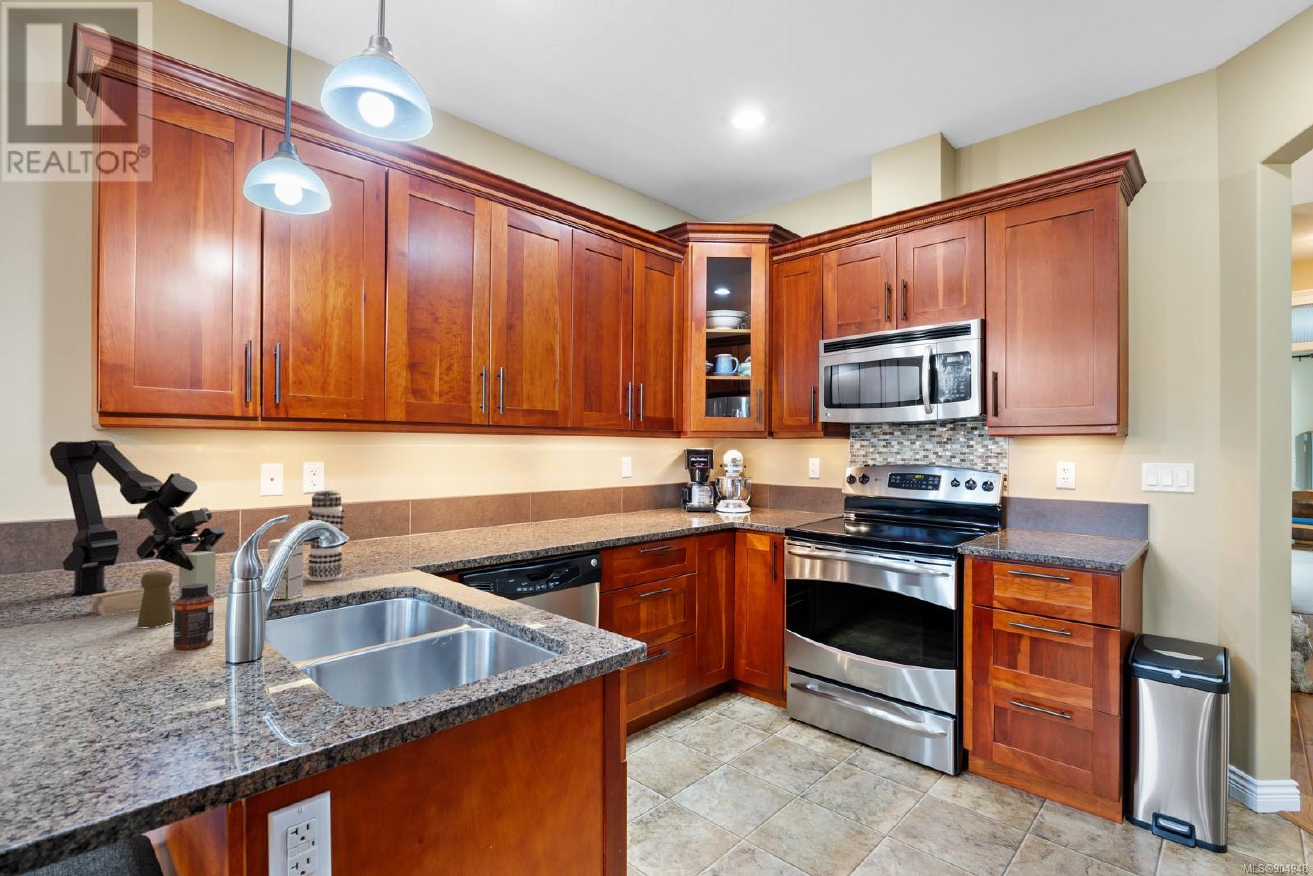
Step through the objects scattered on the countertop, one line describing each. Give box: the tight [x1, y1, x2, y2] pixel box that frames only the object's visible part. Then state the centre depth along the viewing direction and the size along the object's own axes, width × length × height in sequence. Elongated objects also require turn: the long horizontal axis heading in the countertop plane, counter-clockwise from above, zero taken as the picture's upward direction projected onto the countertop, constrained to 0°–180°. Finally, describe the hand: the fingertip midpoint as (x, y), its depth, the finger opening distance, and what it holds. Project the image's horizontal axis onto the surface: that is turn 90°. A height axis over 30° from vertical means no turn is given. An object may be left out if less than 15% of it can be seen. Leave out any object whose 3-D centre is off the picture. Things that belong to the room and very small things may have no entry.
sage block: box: [178, 551, 217, 597], centre depth 150 cm, size 5×5×10 cm
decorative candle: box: [307, 490, 345, 582], centre depth 177 cm, size 9×9×25 cm
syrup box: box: [267, 537, 304, 601], centre depth 153 cm, size 6×6×14 cm
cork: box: [136, 570, 174, 628], centre depth 129 cm, size 6×6×11 cm
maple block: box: [91, 588, 144, 617], centre depth 140 cm, size 8×8×4 cm
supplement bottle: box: [173, 584, 215, 651], centre depth 115 cm, size 6×6×11 cm
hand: (202, 567), depth 150 cm, fingers closed on sage block, 5 cm apart
